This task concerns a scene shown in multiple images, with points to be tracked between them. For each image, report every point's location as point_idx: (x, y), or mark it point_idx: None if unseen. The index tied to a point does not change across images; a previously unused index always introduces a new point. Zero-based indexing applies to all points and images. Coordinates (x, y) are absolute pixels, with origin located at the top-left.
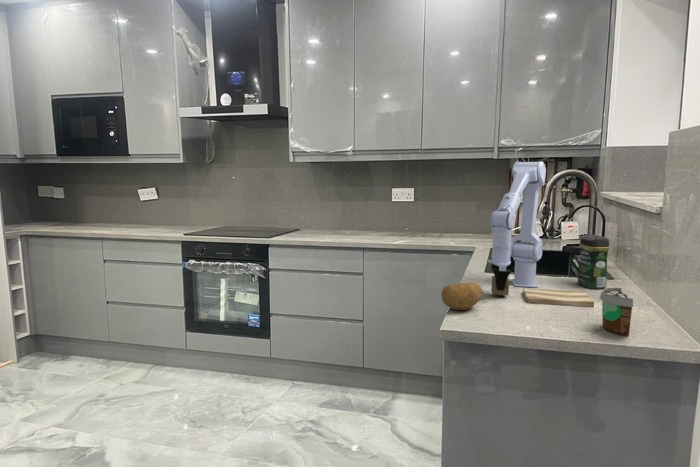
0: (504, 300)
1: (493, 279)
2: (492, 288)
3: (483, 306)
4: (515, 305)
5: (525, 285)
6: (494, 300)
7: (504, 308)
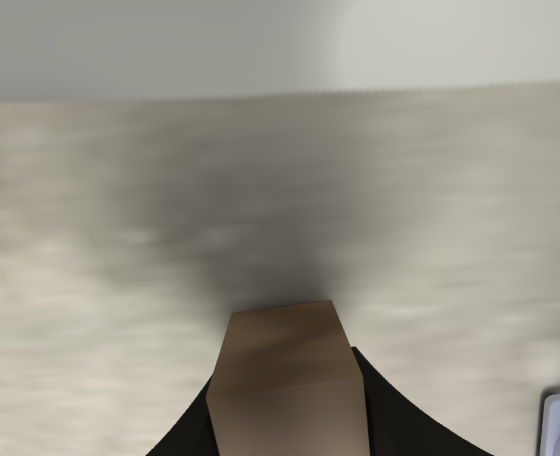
0: (204, 366)
1: (212, 402)
2: (226, 338)
3: (17, 276)
4: (130, 417)
5: (551, 452)
6: (180, 319)
7: (43, 376)
